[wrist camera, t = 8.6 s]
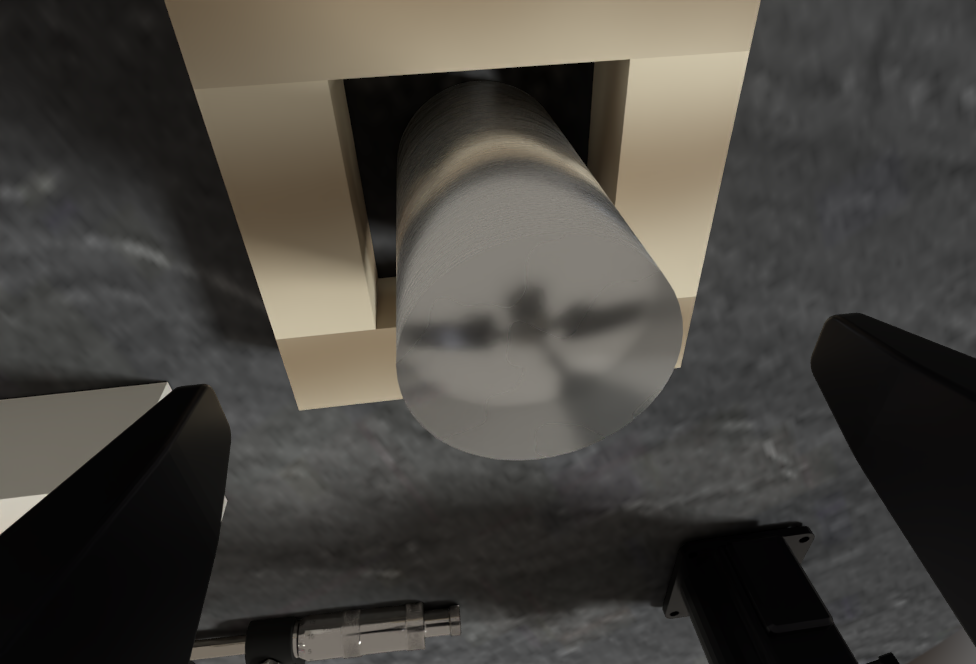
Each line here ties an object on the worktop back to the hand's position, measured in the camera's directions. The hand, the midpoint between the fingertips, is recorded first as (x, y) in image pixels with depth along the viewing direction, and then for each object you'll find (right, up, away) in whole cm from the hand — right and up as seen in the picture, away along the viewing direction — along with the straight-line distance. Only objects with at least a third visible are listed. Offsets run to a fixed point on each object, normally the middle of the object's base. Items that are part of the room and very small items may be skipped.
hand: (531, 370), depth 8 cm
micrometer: (-10, -15, +21) cm, 28 cm away
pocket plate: (-1, +5, +7) cm, 8 cm away
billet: (-1, +5, +7) cm, 8 cm away
